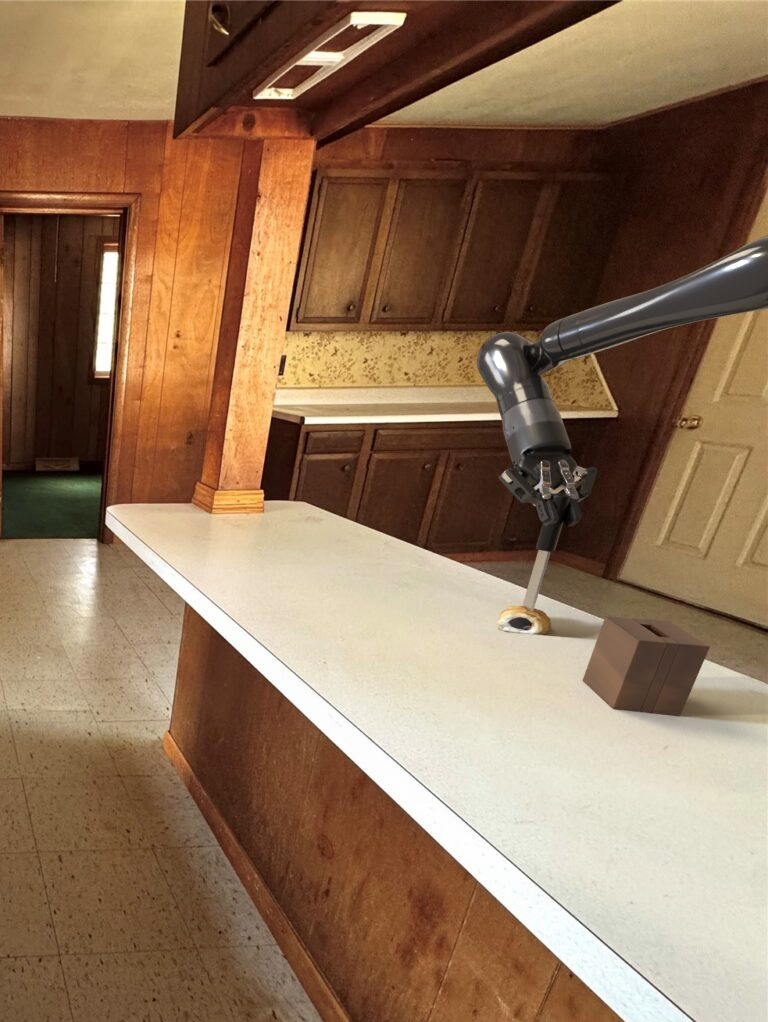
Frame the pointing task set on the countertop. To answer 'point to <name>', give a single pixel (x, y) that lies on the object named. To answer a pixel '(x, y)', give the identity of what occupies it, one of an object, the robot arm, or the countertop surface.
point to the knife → (546, 549)
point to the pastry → (524, 621)
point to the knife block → (644, 665)
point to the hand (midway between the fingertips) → (562, 523)
